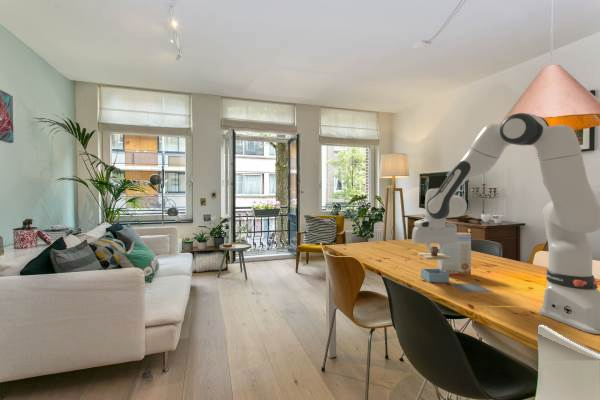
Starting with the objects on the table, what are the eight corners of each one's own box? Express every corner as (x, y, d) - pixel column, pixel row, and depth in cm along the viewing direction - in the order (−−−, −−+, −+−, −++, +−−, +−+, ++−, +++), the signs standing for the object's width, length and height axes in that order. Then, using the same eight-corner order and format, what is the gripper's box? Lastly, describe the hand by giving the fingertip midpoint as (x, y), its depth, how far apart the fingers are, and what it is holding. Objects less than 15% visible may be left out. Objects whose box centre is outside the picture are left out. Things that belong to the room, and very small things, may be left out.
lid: (451, 259, 137) (452, 249, 137) (427, 259, 137) (427, 248, 137) (440, 254, 148) (440, 244, 148) (417, 254, 148) (417, 244, 148)
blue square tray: (448, 283, 138) (449, 273, 138) (429, 283, 138) (429, 273, 138) (439, 277, 147) (439, 268, 147) (420, 278, 147) (420, 268, 147)
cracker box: (465, 273, 156) (466, 232, 156) (471, 276, 150) (471, 233, 150) (437, 272, 157) (437, 231, 157) (441, 275, 151) (442, 233, 151)
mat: (493, 293, 125) (493, 292, 125) (464, 293, 125) (464, 292, 125) (476, 284, 137) (476, 283, 137) (449, 284, 137) (449, 283, 137)
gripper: (453, 222, 145) (452, 251, 146) (410, 222, 145) (410, 251, 145) (460, 223, 139) (460, 254, 139) (416, 223, 138) (415, 253, 139)
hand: (434, 252), depth 142 cm, fingers closed on lid, 3 cm apart
